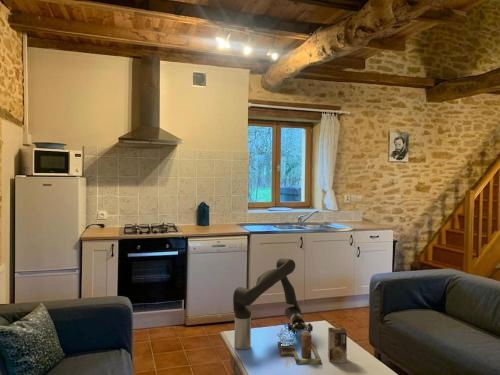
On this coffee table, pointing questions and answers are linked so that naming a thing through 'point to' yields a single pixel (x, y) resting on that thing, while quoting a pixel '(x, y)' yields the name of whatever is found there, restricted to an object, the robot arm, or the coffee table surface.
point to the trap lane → (288, 352)
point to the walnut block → (306, 345)
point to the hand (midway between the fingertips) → (302, 332)
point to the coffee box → (337, 345)
